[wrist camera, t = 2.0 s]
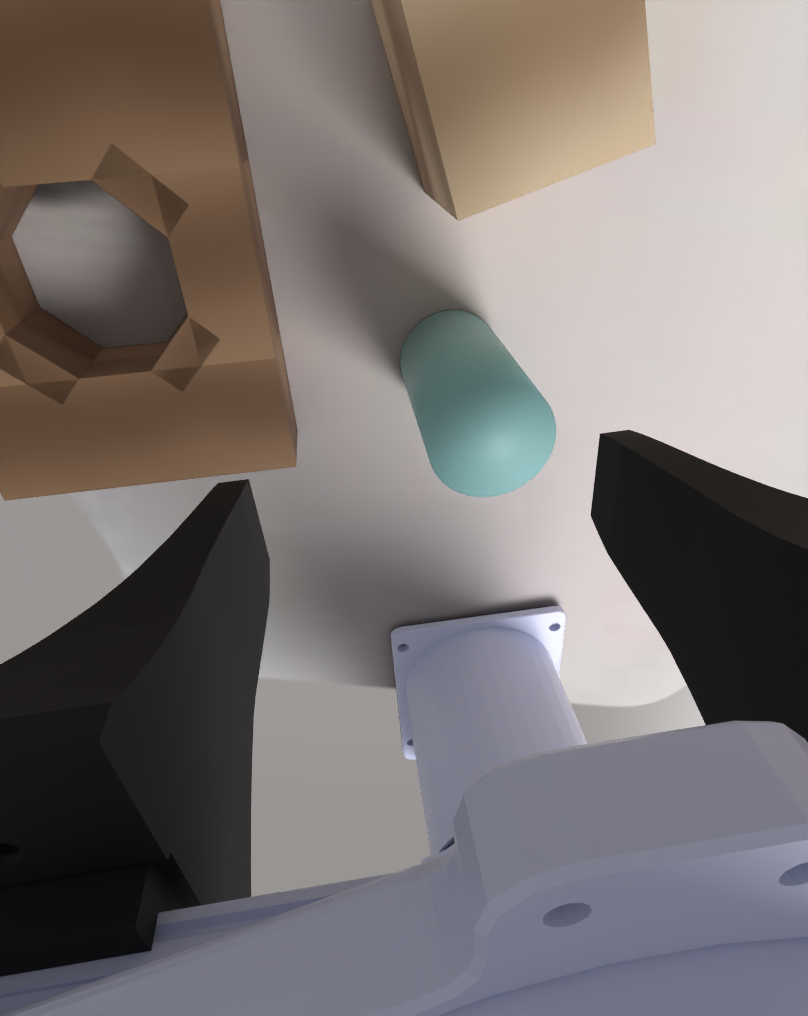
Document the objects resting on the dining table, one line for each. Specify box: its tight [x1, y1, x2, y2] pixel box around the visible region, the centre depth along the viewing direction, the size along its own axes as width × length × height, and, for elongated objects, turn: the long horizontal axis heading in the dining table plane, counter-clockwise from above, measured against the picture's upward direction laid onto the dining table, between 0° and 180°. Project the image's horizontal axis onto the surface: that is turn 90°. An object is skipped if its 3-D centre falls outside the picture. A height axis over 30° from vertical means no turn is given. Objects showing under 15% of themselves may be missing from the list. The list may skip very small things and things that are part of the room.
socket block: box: [0, 0, 297, 500], centre depth 17 cm, size 12×9×2 cm
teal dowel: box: [400, 310, 556, 497], centre depth 18 cm, size 3×3×6 cm
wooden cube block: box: [371, 0, 656, 221], centre depth 14 cm, size 5×5×5 cm
